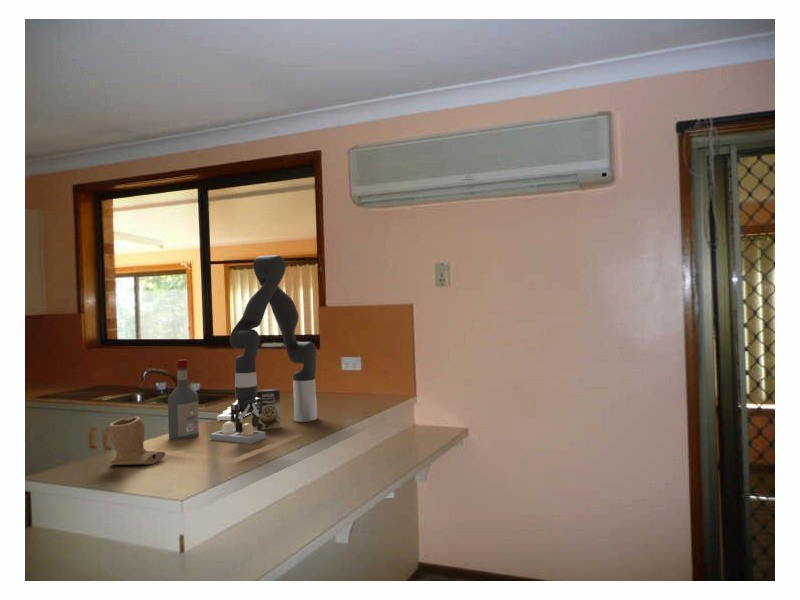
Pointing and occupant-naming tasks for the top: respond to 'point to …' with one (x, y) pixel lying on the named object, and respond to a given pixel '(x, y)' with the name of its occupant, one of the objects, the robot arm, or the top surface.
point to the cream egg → (228, 428)
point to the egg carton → (238, 437)
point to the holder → (228, 414)
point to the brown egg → (247, 430)
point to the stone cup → (131, 443)
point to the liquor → (183, 407)
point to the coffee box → (269, 408)
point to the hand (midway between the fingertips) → (247, 429)
